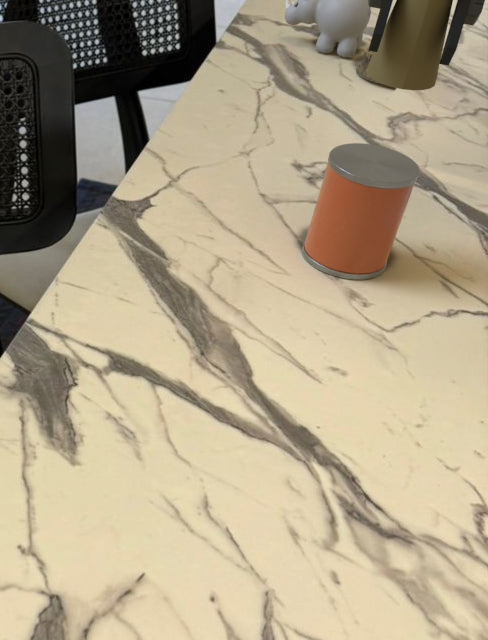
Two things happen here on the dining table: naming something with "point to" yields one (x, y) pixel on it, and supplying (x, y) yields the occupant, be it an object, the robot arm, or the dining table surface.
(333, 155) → the tin can
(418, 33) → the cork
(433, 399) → the dining table surface
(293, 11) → the round bodied animal figurine
